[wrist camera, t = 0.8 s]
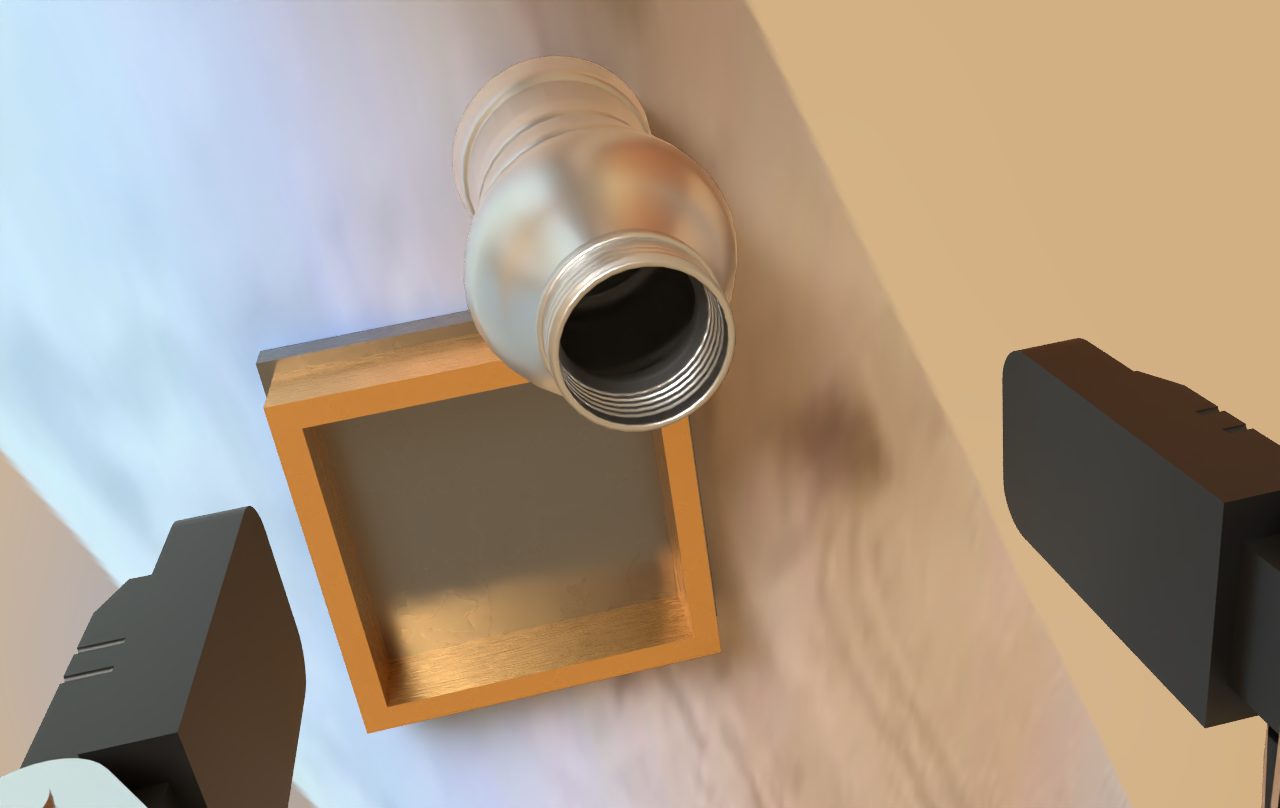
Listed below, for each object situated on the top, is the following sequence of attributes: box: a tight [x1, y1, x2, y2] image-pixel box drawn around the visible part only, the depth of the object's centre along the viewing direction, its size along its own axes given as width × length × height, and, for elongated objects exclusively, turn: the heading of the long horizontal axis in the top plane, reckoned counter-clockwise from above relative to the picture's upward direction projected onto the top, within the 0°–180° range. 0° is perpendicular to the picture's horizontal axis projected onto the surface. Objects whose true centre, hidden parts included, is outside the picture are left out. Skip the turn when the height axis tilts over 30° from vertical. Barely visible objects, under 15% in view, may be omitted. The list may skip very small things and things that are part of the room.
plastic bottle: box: [452, 56, 738, 432], centre depth 31 cm, size 6×7×20 cm
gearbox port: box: [256, 310, 721, 733], centre depth 43 cm, size 15×15×4 cm
